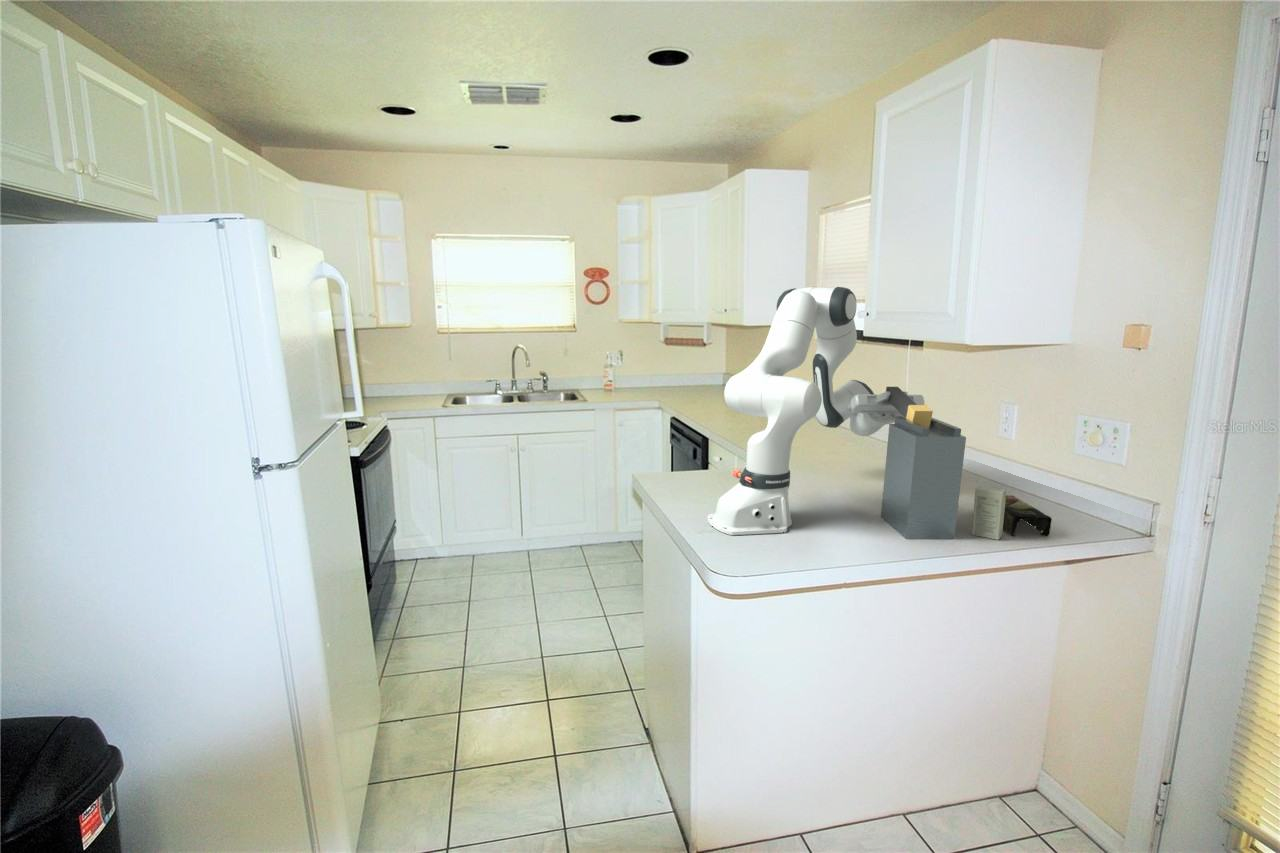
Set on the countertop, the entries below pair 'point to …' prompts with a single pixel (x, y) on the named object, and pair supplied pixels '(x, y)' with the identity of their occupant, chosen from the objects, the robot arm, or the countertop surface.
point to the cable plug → (910, 407)
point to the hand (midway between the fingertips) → (897, 393)
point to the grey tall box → (923, 478)
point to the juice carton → (1024, 516)
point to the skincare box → (988, 512)
